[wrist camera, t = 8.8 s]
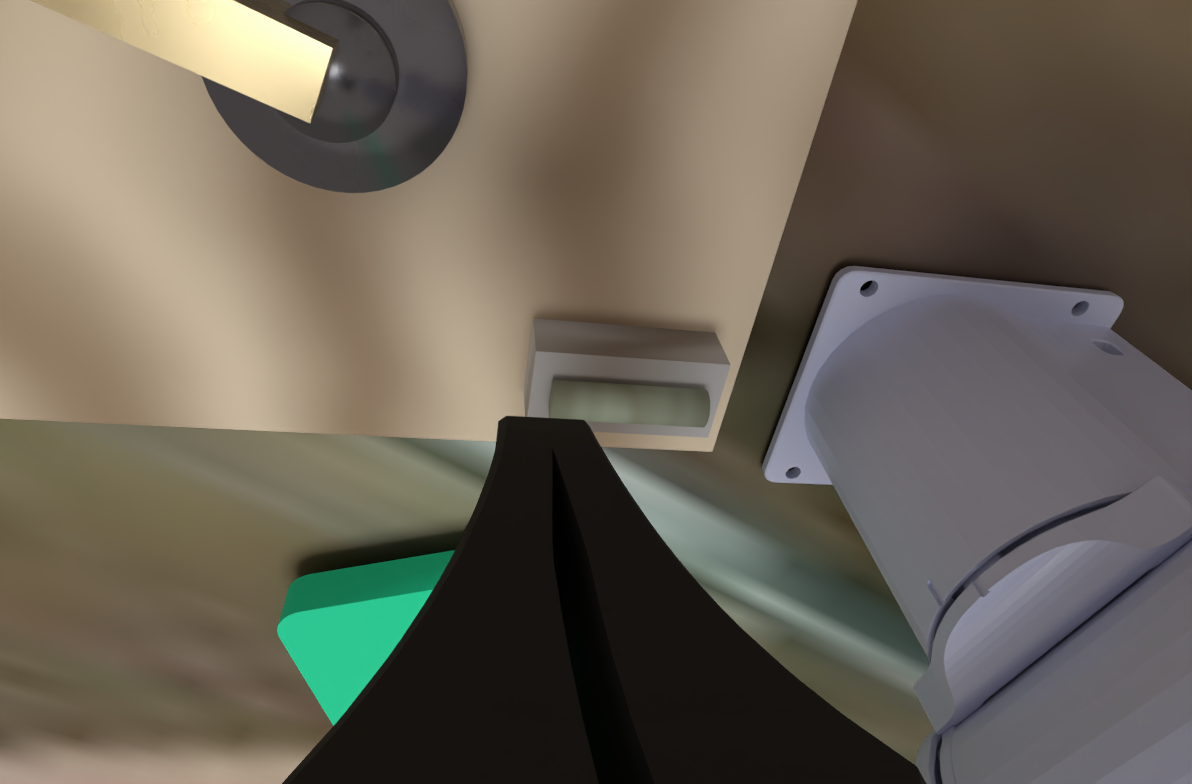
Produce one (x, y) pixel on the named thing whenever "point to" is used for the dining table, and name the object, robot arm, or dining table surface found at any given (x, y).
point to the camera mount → (353, 622)
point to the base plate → (412, 232)
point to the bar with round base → (312, 77)
